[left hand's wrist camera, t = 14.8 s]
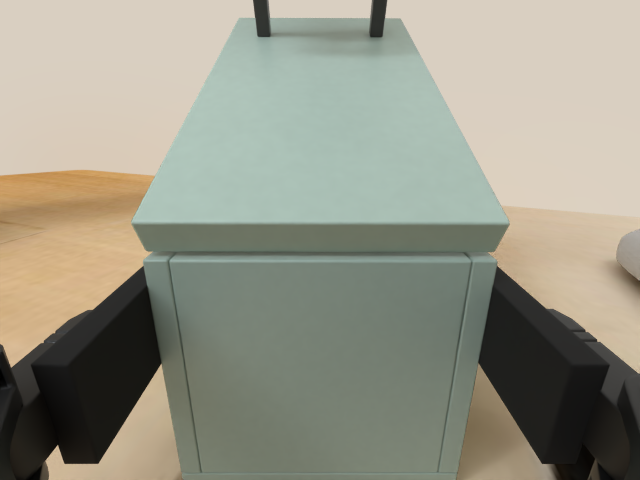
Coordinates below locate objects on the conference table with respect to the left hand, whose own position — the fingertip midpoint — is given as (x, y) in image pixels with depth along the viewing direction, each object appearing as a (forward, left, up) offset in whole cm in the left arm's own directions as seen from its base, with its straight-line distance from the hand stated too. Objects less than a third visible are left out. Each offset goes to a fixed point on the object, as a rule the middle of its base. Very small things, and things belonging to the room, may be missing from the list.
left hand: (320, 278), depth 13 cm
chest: (+5, -3, -7) cm, 9 cm away
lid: (+4, -3, +6) cm, 8 cm away
